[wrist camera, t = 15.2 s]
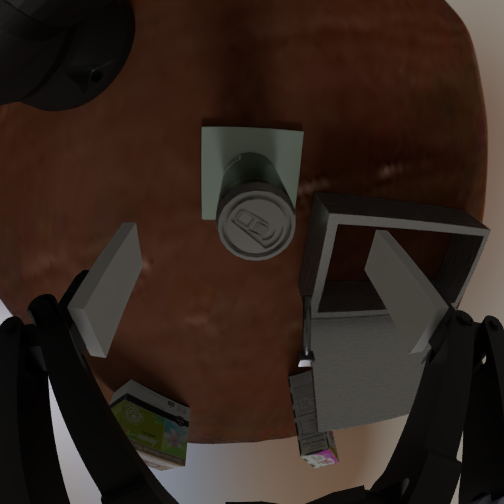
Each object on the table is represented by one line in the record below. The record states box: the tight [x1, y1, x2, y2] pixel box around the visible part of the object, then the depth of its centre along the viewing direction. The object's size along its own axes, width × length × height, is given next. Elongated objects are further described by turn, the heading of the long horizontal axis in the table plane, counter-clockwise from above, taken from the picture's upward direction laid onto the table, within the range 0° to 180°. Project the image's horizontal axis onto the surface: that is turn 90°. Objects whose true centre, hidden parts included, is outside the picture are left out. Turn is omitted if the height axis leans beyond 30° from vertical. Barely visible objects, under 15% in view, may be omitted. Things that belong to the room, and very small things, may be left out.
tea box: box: [109, 379, 190, 471], centre depth 45 cm, size 15×10×15 cm, turn 46°
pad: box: [201, 126, 304, 220], centre depth 28 cm, size 10×10×1 cm
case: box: [297, 192, 490, 433], centre depth 27 cm, size 18×25×18 cm
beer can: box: [215, 152, 296, 261], centre depth 23 cm, size 5×5×12 cm
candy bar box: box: [288, 370, 339, 468], centre depth 42 cm, size 11×5×16 cm, turn 22°
